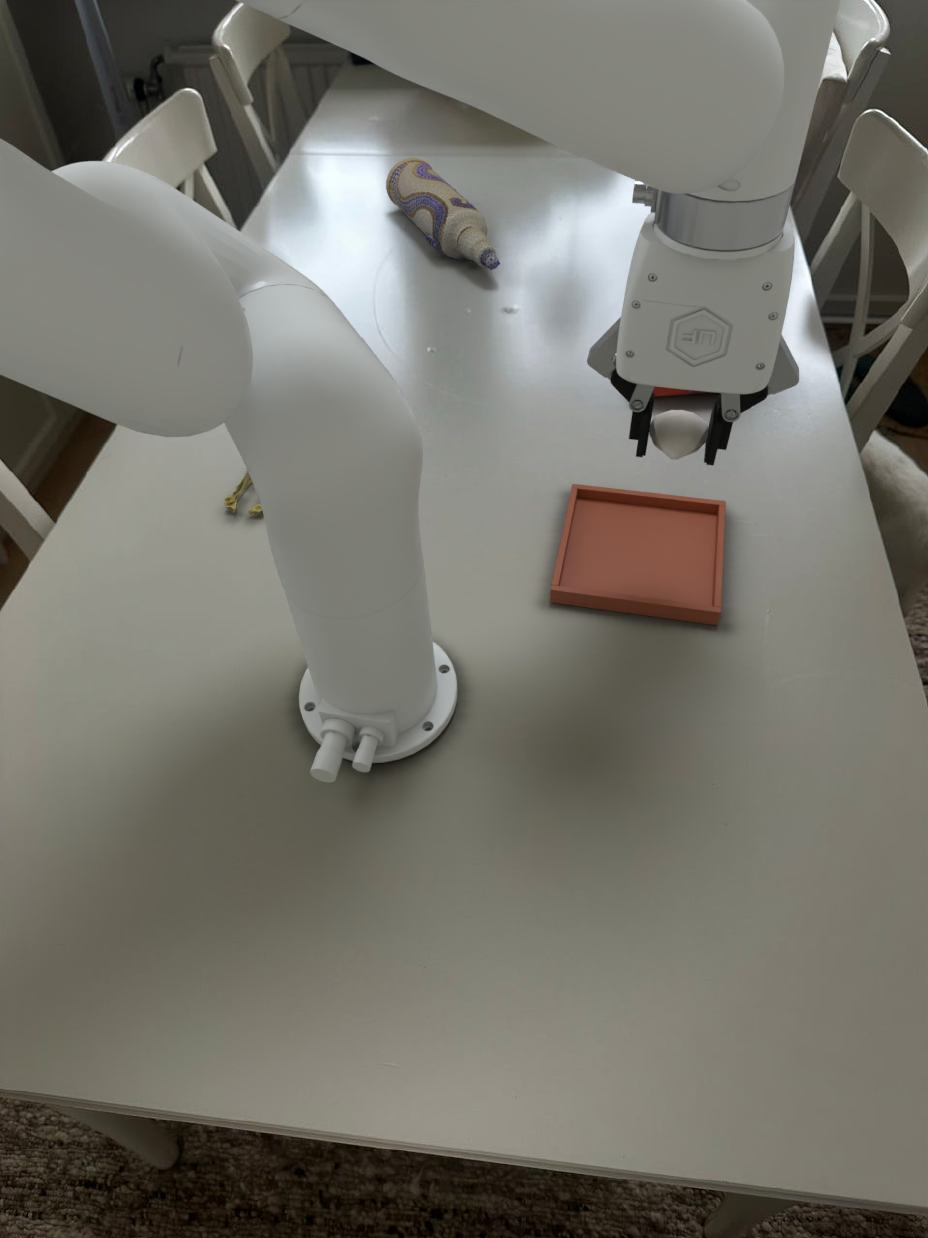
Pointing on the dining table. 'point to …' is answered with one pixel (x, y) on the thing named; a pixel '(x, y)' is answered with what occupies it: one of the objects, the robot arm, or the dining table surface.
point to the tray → (642, 554)
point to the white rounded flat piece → (678, 433)
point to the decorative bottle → (440, 212)
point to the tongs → (232, 499)
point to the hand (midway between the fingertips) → (676, 447)
